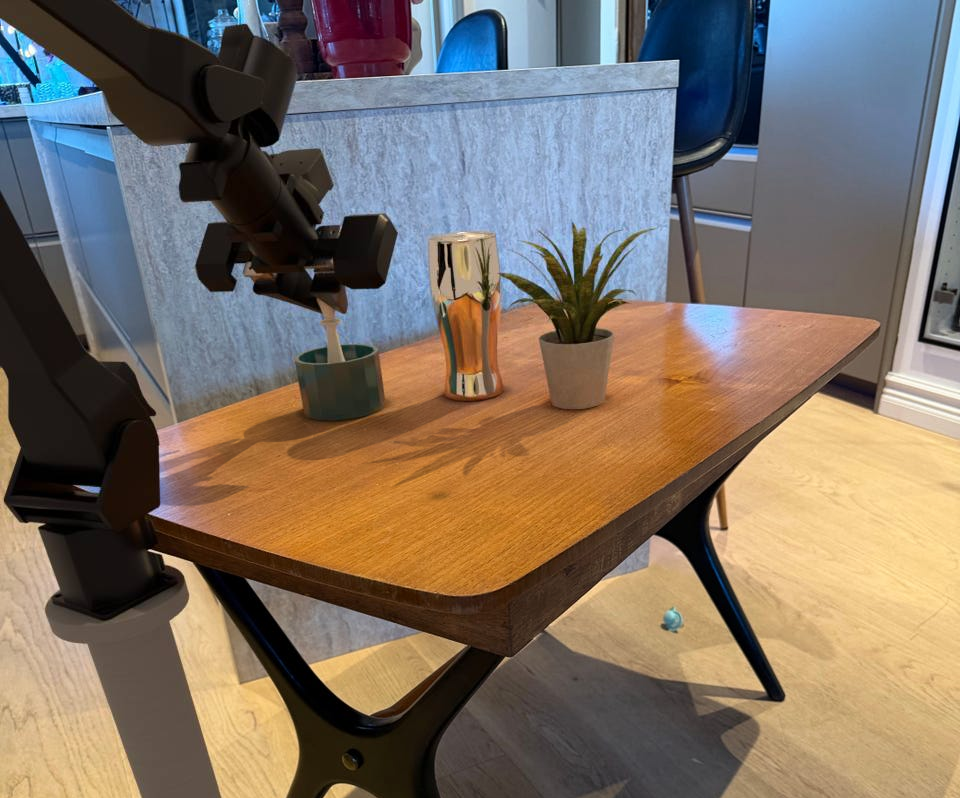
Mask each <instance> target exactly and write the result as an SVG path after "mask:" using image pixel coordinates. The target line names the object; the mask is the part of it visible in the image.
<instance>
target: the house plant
mask: <svg viewBox="0 0 960 798" xmlns="http://www.w3.org/2000/svg"><path fill="white" fill-rule="evenodd" d="M534 229H535V230H537V232H538V233H540V235H542V236H543V237H544V238H545V239H546V240H547V241H548V242H549V244H551V246H552V247H553V249H554V250H555V252H556V253H557V255H558V257H559V260H561V263H562V265H563V266H562V265H561V263H560V262H559V260H558V259H557V257H556V256H555V255H554V254H553V253H552V252H551V251H550V250H549V249H547V248H545V247H544V246H541V245H538V244H536V243H535V242H534V243H533V242H530V241H527V240H519V239H517V241H518V242H521V243H524V244H527V245H529V246H531V247H533V248H535V249H536V250H538V251H539V252H538V251H534V250H530V252H532V253H536V254H538V255H539V256H541V258H542V259H543V261H544V262H545V266H546V270H547V272H548V273H549V275H550V277H551V279H552V280H553V282H554V283H555V285H556V288H557V289H558V291H559V294H560V296H559V295H558V293H557V292H556V290H555V288H554V286H553V285H552V283H551V282H550V281H549V279H548V278H547V277H546V275H545V274H544V273H543V272H542V270H540V269H539V267H537V266H536V265H535V264H534V263H533V262H532V261H530V260H529V259H528V258H527V257H526V256H524V255H523V254H521V253H519V252H517V251H515V250H512V249H509V248H506V250H508V251H510V252H513V253H516V254H518V256H520V257H522V258H524V259H525V260H526V261H528V262H529V263H530V264H531V265H532V266H533V267H534V268H535V269H536V270H537V271H538V273H540V274H541V275H542V276H543V277H544V279H545V280H546V282H547V283H548V284H549V286H550V287H551V289H552V290H553V292H554V294H555V295H556V297H557V300H556V299H555V298H554V297H553V296H552V295H551V294H550V293H549V292H548V291H547V290H546V289H545V288H543V287H542V286H541V285H539V284H536V283H535V282H533V281H532V280H531V281H530V280H528V279H527V278H524V277H523V276H520V275H517V274H514V273H509V272H500V273H498V274H500V275H501V278H504V279H506V280H509V281H510V282H511V284H513V285H514V286H515V287H516V288H517V289H519V290H520V291H522V292H523V293H525V294H527V295H528V296H530V297H531V298H527V297H524V298H519V299H517V300H515V301H513V302H511V304H510V305H509V306H508V307H507V309H508V308H510V307H512V306H513V305H516V304H517V306H520V304H522V303H523V304H524V303H528V302H530V303H534V304H536V305H537V306H538V308H539V309H540V310H541V311H543V312H544V313H545V314H546V316H547V317H548V320H547V322H549V321H551V323H552V326H553V328H554V330H551V331H549V332H545V333H543V334H541V335H540V336H539V337H538V343H539V347H540V353H541V356H542V357H541V358H542V362H543V367H544V371H545V377H546V383H547V388H548V392H549V393H548V394H549V398H550V402H551V406H553V407H555V408H557V409H561V410H583V409H590V408H593V407H597V406H599V405H602V404H603V403H604V402H605V399H606V394H607V386H608V381H609V373H610V366H611V360H612V353H613V348H614V341H615V340H614V339H615V333H614V332H613V331H612V330H610V329H606V328H600V327H597V325H598V322H599V321H600V320H601V318H602V317H603V316H604V315H605V314H607V313H608V312H609V311H611V310H613V309H615V308H617V307H621V306H622V305H627V304H628V305H632V303H630V302H628V301H626V300H624V299H623V298H615V297H617V296H619V295H621V294H622V293H624V292H630V293H633V295H635V296H636V297H638V295H637V294H636V292H635V291H634V290H633V289H623V288H615V289H611V290H610V291H609V292H607V293H606V294H605V295H604V296H603V297H602V298H601V295H602V294H603V292H604V290H605V288H606V286H607V283H608V282H609V281H610V278H611V277H612V276H613V274H614V273H615V272H616V271H617V270H618V268H619V266H620V265H621V264H622V263H623V261H624V259H626V257H627V256H628V255H629V254H630V253H631V252H632V251H634V249H635V248H636V247H637V245H639V244H636V245H635V246H633V247H632V248H631V249H630V250H628V251H627V252H626V253H625V254H624V255H623V256H622V257H621V258H620V260H618V259H619V257H620V256H621V255H622V253H623V252H624V251H625V250H626V248H627V247H629V245H631V244H632V243H633V241H635V240H636V239H637V238H638V237H639V236H641V235H643V234H645V233H649V232H651V231H654V230H656V229H658V227H654V228H648V229H643V230H640V231H638V232H635V233H633V234H631V235H630V236H628V237H627V238H625V240H623V242H621V243H620V244H619V245H618V246H617V248H616V249H615V250H614V252H613V253H612V254H611V256H610V257H609V259H608V261H607V263H606V265H605V267H604V268H603V271H602V272H601V275H600V277H599V280H598V282H597V284H596V286H595V281H596V275H597V273H598V270H599V264H600V262H601V261H602V260H603V256H604V253H602V246H603V243H604V241H605V240H607V238H608V237H610V236H611V235H613V234H615V233H618V232H621V231H623V230H625V229H618V230H614V231H612V232H610V233H608V234H607V235H606V236H605V237H604V238H603V239H602V240H601V242H600V243H599V244H597V245H596V246H595V248H594V250H593V253H592V257H591V261H590V264H589V266H588V267H587V269H586V270H585V272H584V263H585V254H586V248H587V247H586V246H587V240H588V237H587V229H586V227H585V226H584V227H582V228H581V229H580V230H579V231H578V229H577V227H576V225H575V223H574V222H573V221H571V230H572V247H571V248H572V249H571V253H572V266H573V267H572V268H573V276H572V273H571V270H570V268H569V266H568V263H567V260H566V259H565V257H564V255H563V254H562V252H561V250H560V249H559V248H558V246H557V245H556V244H555V243H554V242H553V241H552V240H551V239H550V238H549V237H548V236H547V235H546V234H544V233H543V232H542V231H540V230H539V229H537V228H536V227H534ZM540 252H541V253H540ZM617 261H618V262H617ZM616 262H617V264H616ZM615 264H616V265H615ZM614 265H615V266H614ZM563 267H564V268H563ZM600 298H601V299H600Z"/></svg>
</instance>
